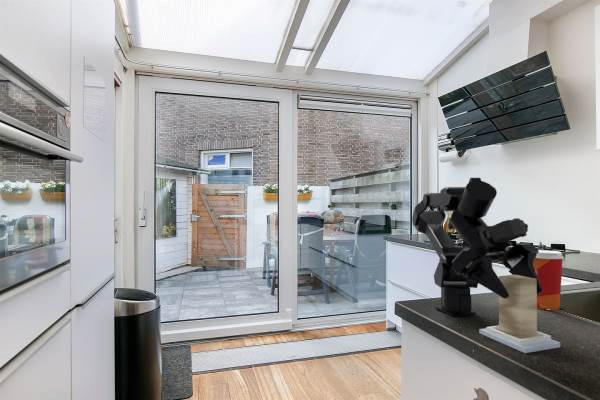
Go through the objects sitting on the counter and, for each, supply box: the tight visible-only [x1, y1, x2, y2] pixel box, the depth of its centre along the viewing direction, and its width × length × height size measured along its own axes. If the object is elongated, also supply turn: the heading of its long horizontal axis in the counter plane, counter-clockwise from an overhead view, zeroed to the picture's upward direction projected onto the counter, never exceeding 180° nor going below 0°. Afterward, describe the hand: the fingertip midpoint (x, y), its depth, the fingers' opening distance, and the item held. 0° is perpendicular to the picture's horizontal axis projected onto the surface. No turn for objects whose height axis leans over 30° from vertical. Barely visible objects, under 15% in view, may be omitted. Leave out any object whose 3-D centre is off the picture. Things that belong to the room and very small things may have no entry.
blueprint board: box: [478, 324, 561, 354], centre depth 67 cm, size 10×8×2 cm
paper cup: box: [533, 249, 565, 312], centre depth 88 cm, size 8×8×14 cm
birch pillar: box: [498, 274, 538, 339], centre depth 67 cm, size 4×4×11 cm
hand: (524, 294), depth 66 cm, fingers open, 9 cm apart
